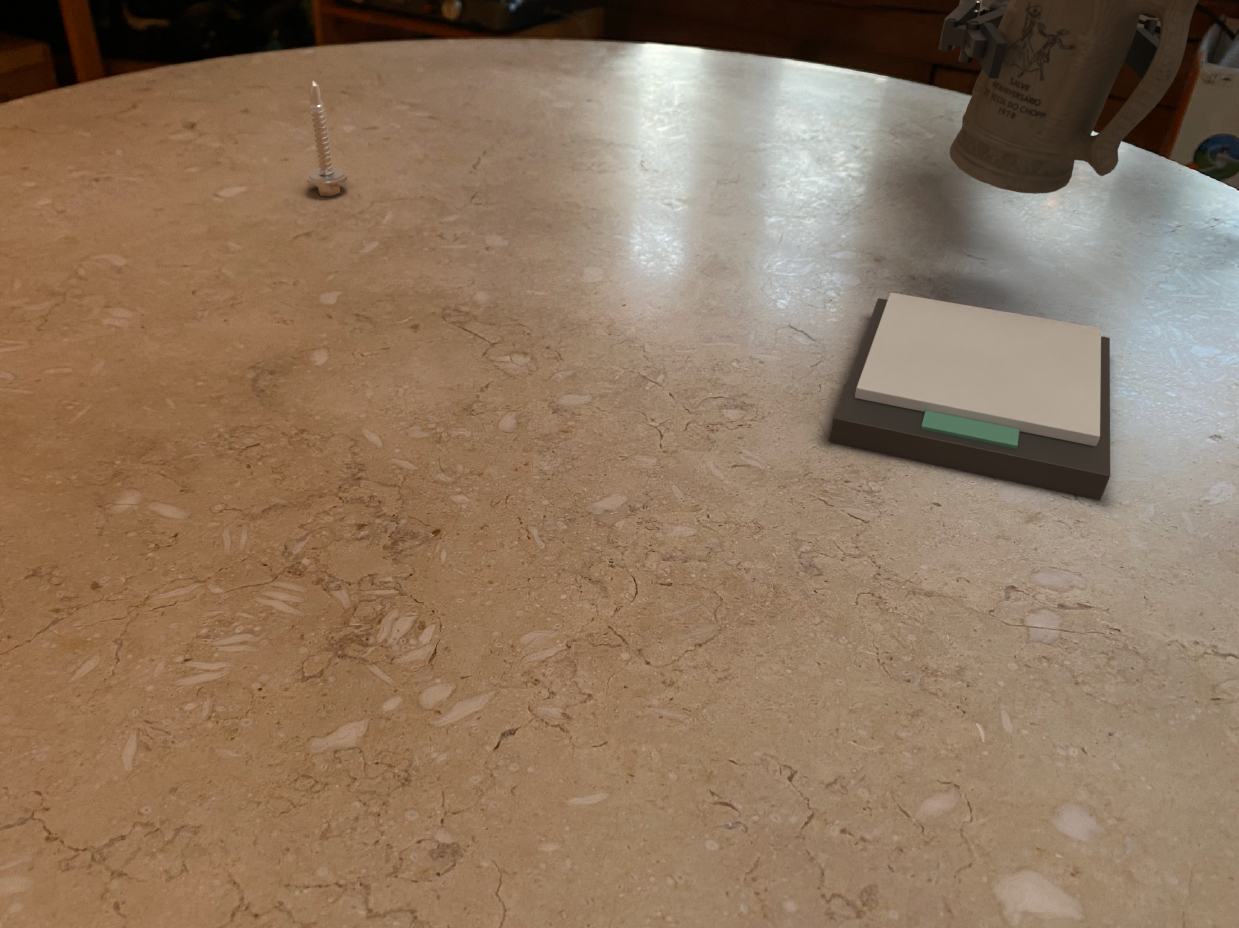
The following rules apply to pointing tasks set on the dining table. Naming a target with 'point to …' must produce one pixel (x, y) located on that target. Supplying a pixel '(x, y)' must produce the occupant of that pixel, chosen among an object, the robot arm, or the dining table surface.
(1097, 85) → the beer stein
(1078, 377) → the scale
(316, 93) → the screw
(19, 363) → the dining table surface
